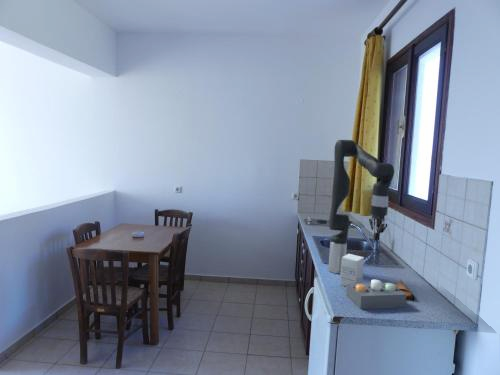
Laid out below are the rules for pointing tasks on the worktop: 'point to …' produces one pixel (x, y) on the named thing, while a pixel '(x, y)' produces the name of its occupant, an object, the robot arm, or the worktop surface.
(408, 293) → the sunglasses case
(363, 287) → the beige rounded piece
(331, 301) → the worktop surface
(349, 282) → the supplement box
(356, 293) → the grey holder tray
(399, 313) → the worktop surface
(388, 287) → the mint green oval piece
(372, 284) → the white egg-shaped piece
